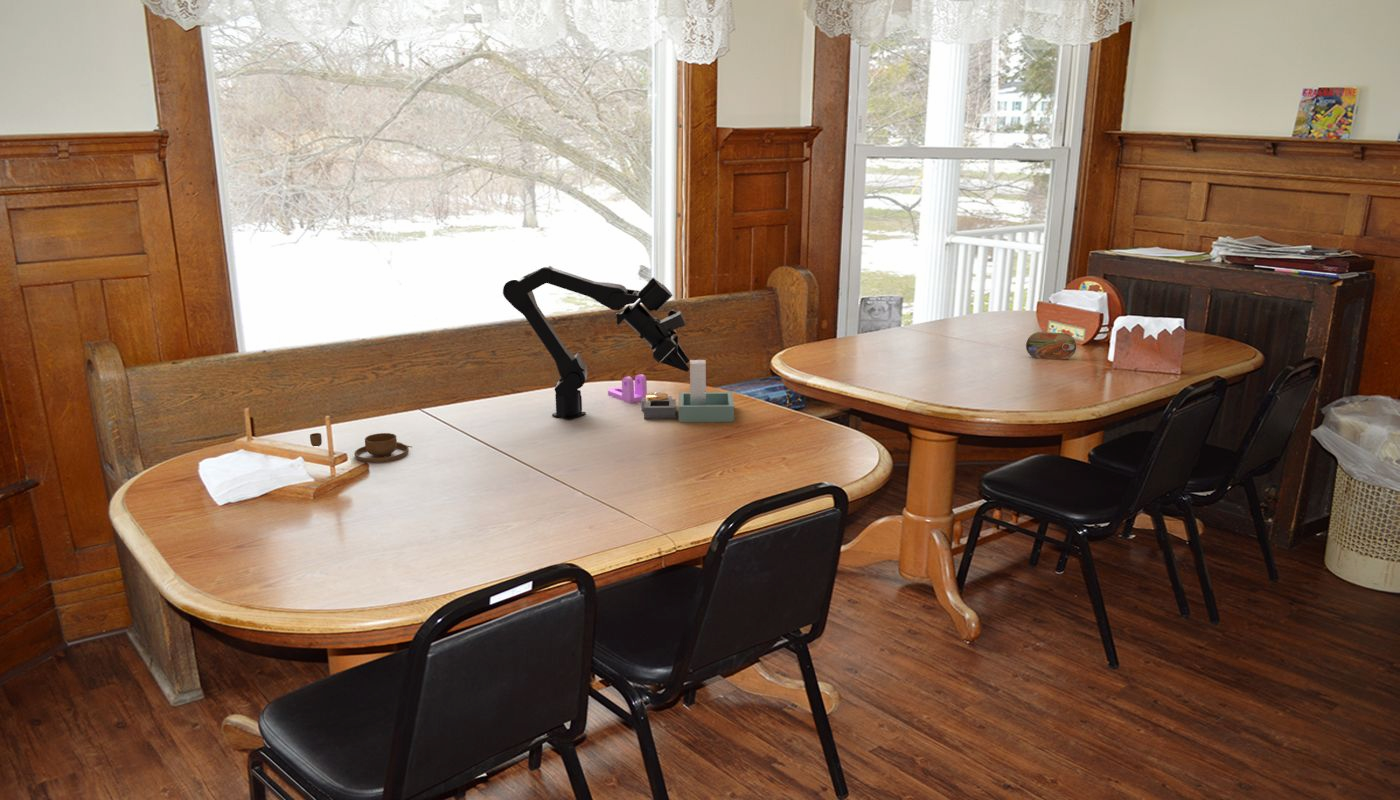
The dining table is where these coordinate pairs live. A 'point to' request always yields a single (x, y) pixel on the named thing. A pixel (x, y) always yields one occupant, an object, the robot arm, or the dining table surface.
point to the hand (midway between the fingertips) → (688, 366)
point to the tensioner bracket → (658, 406)
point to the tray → (707, 408)
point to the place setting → (373, 447)
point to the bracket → (630, 389)
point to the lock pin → (697, 382)
